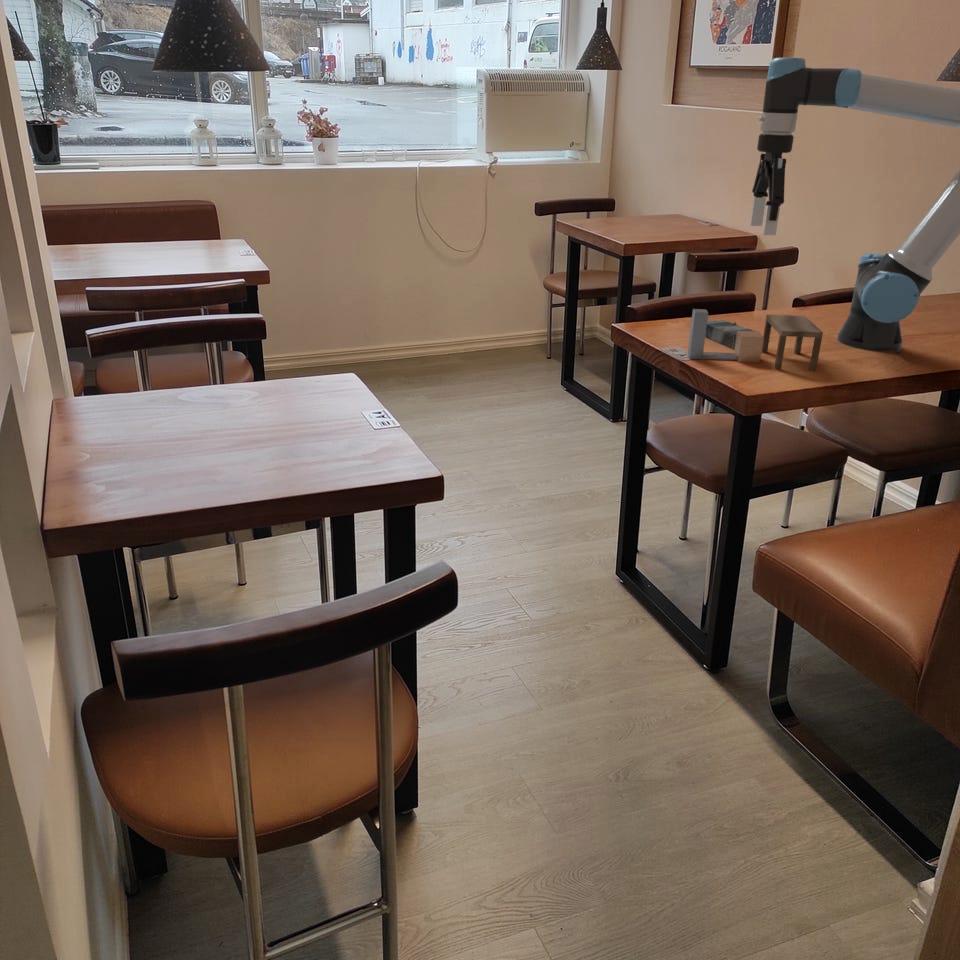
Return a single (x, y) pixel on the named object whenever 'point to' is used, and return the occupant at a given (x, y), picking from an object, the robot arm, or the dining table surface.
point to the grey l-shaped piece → (745, 351)
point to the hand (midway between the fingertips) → (762, 230)
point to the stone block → (723, 332)
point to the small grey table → (793, 328)
